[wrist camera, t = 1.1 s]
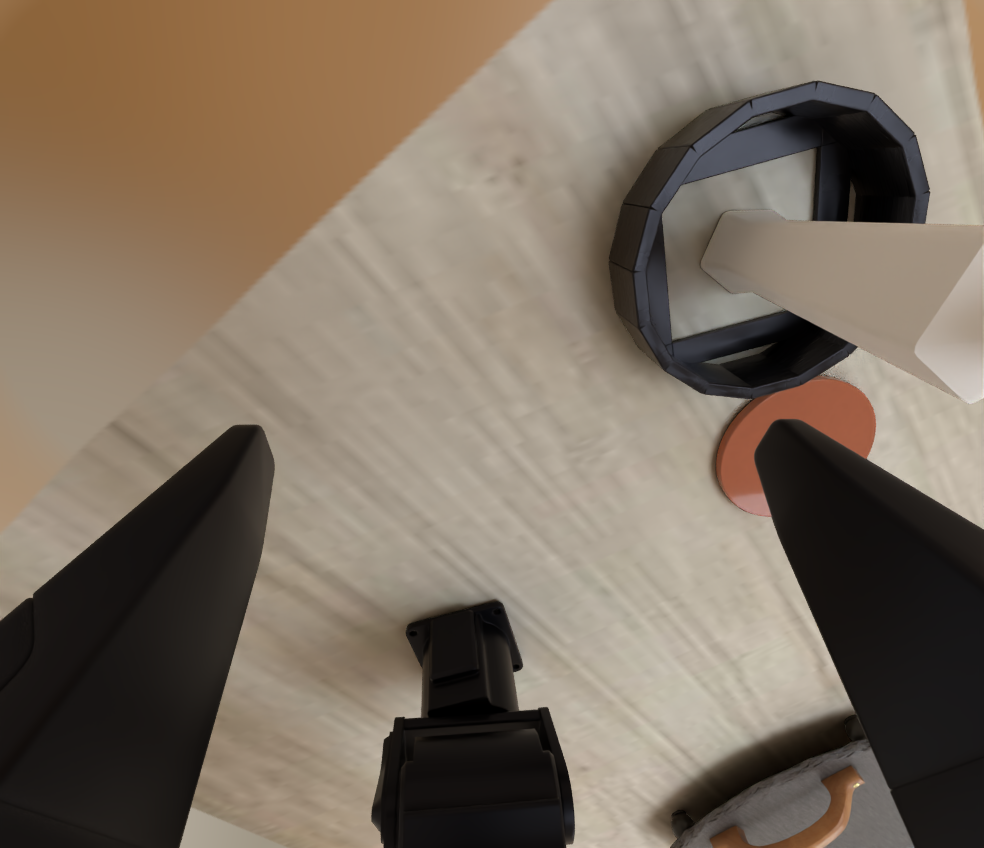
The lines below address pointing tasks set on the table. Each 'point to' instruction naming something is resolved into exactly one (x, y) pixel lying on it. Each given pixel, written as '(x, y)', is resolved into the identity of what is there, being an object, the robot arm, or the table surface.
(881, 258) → the perfume bottle
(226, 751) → the table surface
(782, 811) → the serving tray
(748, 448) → the coaster
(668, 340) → the black ring
